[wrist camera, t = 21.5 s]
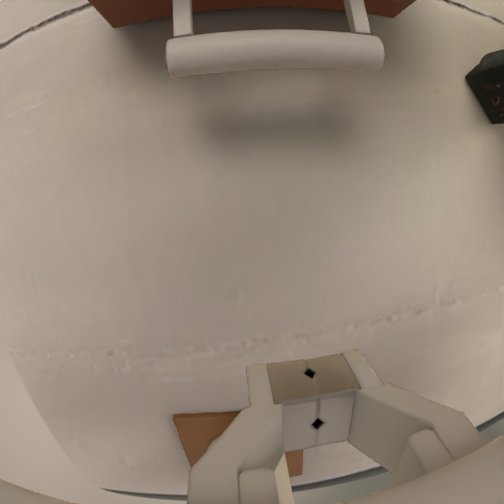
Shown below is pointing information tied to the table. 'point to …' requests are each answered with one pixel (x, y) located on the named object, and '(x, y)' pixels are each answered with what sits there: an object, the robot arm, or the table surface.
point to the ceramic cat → (490, 85)
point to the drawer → (260, 36)
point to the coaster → (212, 426)
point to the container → (279, 480)
